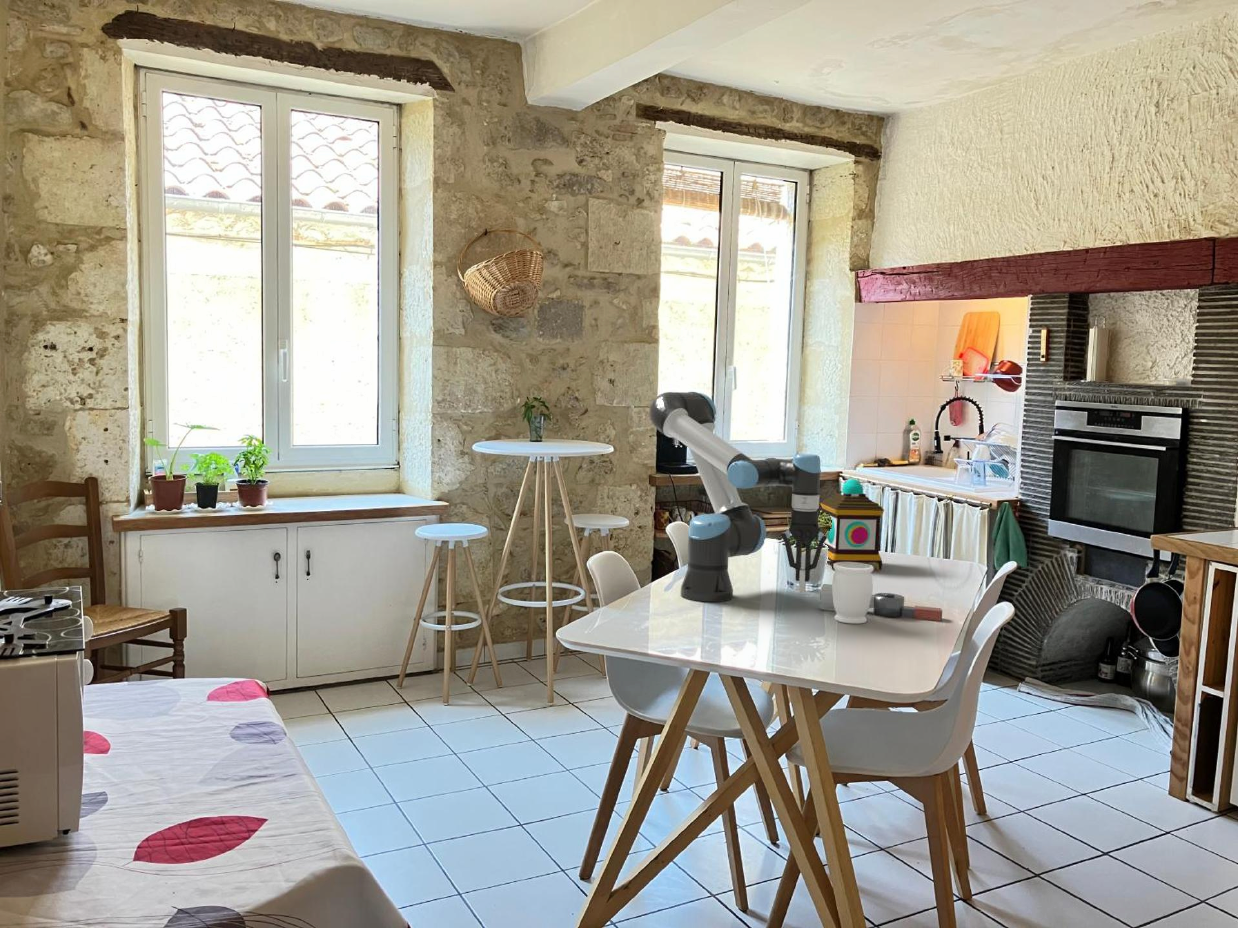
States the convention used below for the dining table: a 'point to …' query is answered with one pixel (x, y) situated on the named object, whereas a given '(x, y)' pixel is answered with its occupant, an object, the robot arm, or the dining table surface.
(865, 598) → the jar
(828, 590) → the grey cube
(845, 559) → the decorative lantern
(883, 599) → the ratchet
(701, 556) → the robot arm
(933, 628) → the dining table surface
